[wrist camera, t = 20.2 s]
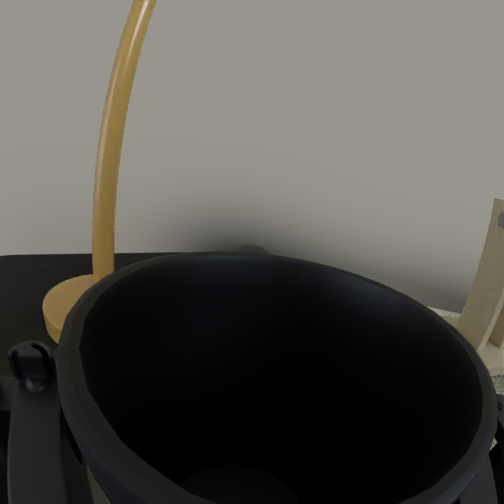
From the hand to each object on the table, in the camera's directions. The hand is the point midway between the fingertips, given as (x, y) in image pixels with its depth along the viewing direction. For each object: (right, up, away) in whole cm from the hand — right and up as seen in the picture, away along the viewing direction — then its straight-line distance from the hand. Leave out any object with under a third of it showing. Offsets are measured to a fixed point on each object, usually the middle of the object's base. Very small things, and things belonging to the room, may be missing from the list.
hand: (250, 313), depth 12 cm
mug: (-1, -7, -3) cm, 8 cm away
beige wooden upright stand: (+23, -7, +9) cm, 26 cm away
